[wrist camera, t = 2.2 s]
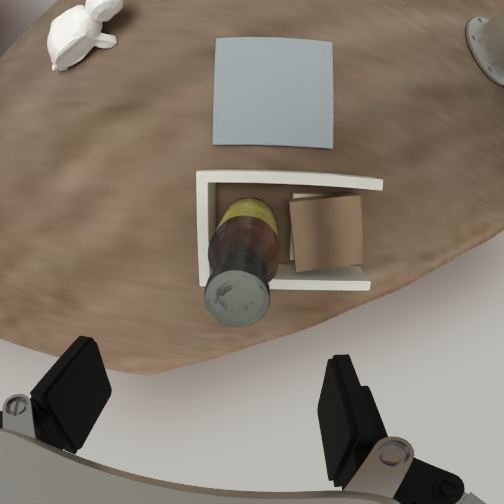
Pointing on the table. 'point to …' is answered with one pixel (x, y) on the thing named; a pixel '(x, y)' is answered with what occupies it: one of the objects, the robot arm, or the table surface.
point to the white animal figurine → (80, 32)
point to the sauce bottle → (242, 263)
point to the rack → (286, 272)
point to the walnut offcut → (326, 231)
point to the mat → (273, 92)
